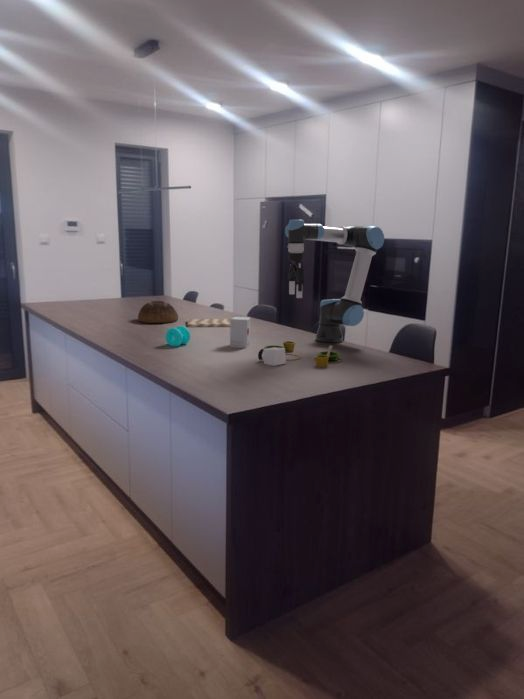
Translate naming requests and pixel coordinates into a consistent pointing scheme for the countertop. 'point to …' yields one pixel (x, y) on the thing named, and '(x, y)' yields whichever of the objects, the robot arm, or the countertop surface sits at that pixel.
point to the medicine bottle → (272, 356)
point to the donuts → (177, 336)
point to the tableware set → (320, 358)
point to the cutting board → (208, 322)
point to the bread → (157, 313)
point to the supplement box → (240, 332)
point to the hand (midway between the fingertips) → (295, 296)
